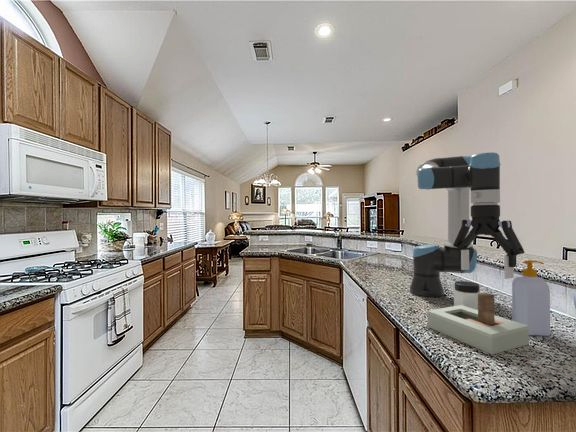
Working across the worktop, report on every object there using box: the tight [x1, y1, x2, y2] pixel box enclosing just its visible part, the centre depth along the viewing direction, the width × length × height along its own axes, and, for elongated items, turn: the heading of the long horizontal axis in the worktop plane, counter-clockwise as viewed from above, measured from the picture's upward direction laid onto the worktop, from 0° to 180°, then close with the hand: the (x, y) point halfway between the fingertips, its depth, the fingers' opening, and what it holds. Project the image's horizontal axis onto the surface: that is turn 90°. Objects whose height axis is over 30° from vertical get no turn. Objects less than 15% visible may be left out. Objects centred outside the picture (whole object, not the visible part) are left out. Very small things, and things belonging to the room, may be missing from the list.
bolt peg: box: [478, 292, 496, 326], centre depth 91 cm, size 5×5×14 cm
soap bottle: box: [511, 260, 551, 337], centre depth 97 cm, size 9×7×23 cm
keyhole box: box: [426, 305, 530, 355], centre depth 95 cm, size 22×16×6 cm
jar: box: [453, 280, 481, 310], centre depth 113 cm, size 9×8×12 cm
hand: (485, 273), depth 91 cm, fingers open, 13 cm apart
